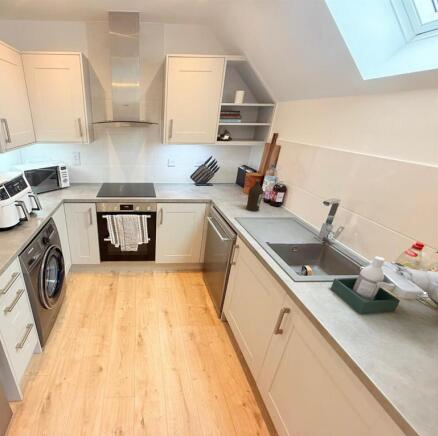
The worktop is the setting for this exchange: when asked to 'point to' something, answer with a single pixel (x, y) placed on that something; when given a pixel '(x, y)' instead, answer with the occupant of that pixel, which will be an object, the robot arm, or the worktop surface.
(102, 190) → the worktop surface
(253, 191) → the olive oil
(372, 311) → the tray
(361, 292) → the bath foam
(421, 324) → the worktop surface
